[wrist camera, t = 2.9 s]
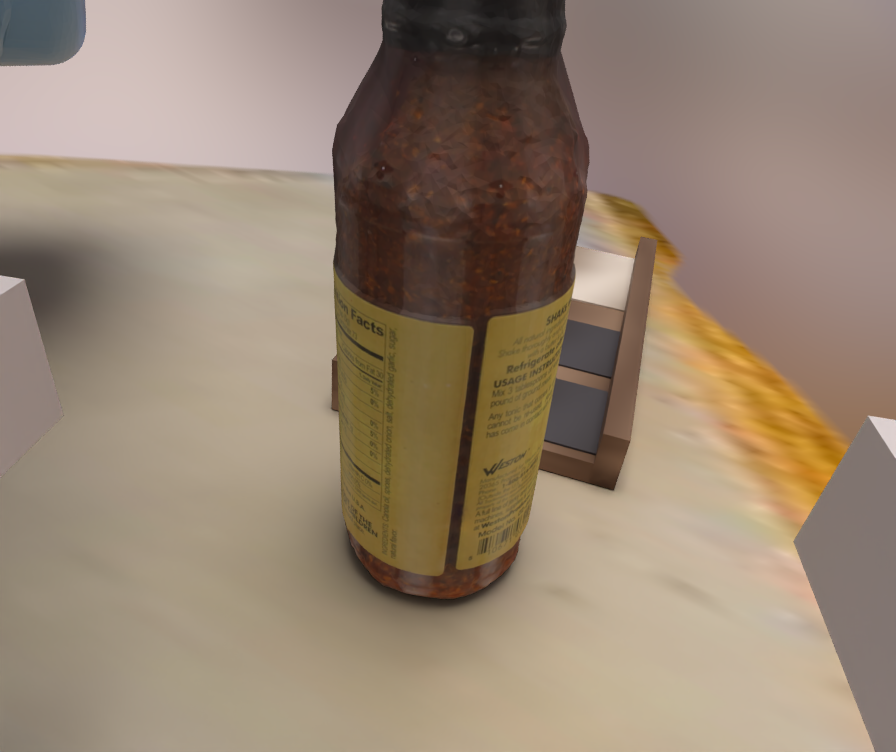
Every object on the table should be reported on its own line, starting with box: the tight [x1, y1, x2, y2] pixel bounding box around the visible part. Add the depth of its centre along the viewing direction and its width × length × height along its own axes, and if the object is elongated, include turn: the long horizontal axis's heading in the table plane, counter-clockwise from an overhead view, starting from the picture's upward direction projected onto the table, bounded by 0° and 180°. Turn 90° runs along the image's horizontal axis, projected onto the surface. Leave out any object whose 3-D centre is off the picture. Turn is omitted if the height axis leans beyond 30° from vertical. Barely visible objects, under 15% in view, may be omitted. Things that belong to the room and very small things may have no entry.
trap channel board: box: [332, 237, 657, 490], centre depth 35 cm, size 12×21×2 cm, turn 162°
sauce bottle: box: [332, 0, 589, 599], centre depth 17 cm, size 7×6×20 cm
